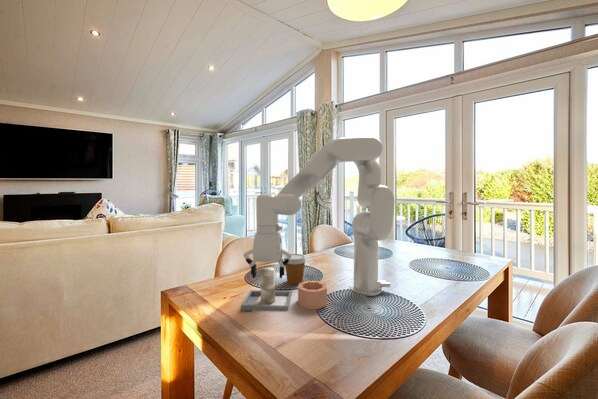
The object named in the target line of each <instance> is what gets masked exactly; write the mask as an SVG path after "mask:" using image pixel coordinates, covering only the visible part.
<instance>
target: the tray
mask: <svg viewBox="0 0 598 399" xmlns="http://www.w3.org/2000/svg"><path fill="white" fill-rule="evenodd" d="M275 296H288V297H287V301H286V304H285V305H281V304H257V302H258V300H259V298H260V297H261V290H256V289H254V290H253V289H252V290H249V292H248V293H247V296H246V297H245V298H244V300H243V301H242V303H241V304H240V305H241V306H240V307H241V308H240V309H241V310H240V311H241V312H244V313H251V312H253V310H268V311H270V310H273V311H274V310H275V311H289V308H290V304H291V301H292V300H291V299H292V296H293V291H292V290H291V291H290V290H288V291H287V290H286V291H285V290H275Z"/></svg>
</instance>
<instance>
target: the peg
mask: <svg viewBox="0 0 598 399" xmlns="http://www.w3.org/2000/svg"><path fill="white" fill-rule="evenodd" d="M275 276H276V270H275V268H274V267H269V266H268V267H262V268H261V269H260V291H261V295H260V303H261V304H262V305H273V304H274V303H275V302H276V295H275V291H276V288H275V287H276V286H275V285H276V283H275V282H276V278H275Z"/></svg>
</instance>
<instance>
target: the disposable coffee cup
mask: <svg viewBox="0 0 598 399" xmlns="http://www.w3.org/2000/svg"><path fill="white" fill-rule="evenodd" d="M291 254H292V256H291V258H290V260H289V262H288V263H287V264H286V265H285V266H284V269H285V274H286V275H285V276H286V282H287V284H289V285H293V286H294V285H299V283H302V282H304V273H305V264H306V261H307V258H306V256H305V255H304V254H301V253H291ZM286 258H287V256H286V255H284V258H283V261H285V260H286Z"/></svg>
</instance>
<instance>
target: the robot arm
mask: <svg viewBox="0 0 598 399" xmlns="http://www.w3.org/2000/svg"><path fill="white" fill-rule="evenodd" d="M382 153H383V143H382V142H381V140H380V139H379V138H377V137H375V136H354V137H348V136H347V137H338V138H335V139H331V140H329V141H328V142H326V143H325V144H324V145H323V146H322V147H321V148H320V149H319V150H318V151H317V153H316V154H315V155H314V156H313V157H312V158H311V160H310V161H309V162H308V163H307V164H306V165H305V166H304V167H303V168H302V169H301V170H300V171H298V172H297V173H296V175H295V176H293V177H292V178H291V179H290V180H289V181H288V182H287V183H286V184H285V185H284V186H283V188H282V189H281V190H280V191H279V192H278V193H277V194H269V193H268V194H259V195H257V196H256V200H255V205H256V208H255V212H256V232H255V233H254V236H253V237H254V238H253V246H252V248H251V249H250V250H248V251H246V252H244V253H243V255H242V256H243V258H244V259H245V262H246V263H247V264H248V265H249V266H250V275H251V276H252V278H254V279H255V278H256V277H257V264H256V263H278V265H279V278H280V279H282V278H283V276H285V265H286V264H287V263H288V262H289V260H290V258H291V256H292V254H293V253H290V252H289V251H287V250H285V249H283V243H282V242H283V241H282V236H281V232H280V231H282V230H283V226H281V225H279V215H281V216H282V215H283V216H294V215H296V214H298V213H299V212H300V210H301V208H302V202H301V199H300V198H301V197H302V196H303V195H304V194H305V193H306V192H308V191H309V190H311V189H313V188H315V187H317V186H319V185H320V184H322V183H323V182H324V180H326V178H327V177H328V176H329V175H330V174H331V173H332V171H333V170H334V169H335V168H336V167H337V165H338V164H339V163H349V162H353V163H354V164H355V166H356V168H357V169H358V184H357V186H358V188H357V203H358V205H359V206H360V207H361V208H364V209H367V210H369V211H361V212H358V213H357V214H356V215H355V216H354V217H353V219H352V223H351V228H352V234H353V283H351V284H350V285H349V289H350V290H351V291H353V292H354V293H358V294H363V295H365V296H366V297H374V296H379V295H380V294H382V292H383V289H382V288H391V282H388V281H387V282H386V280H379V250H380V249H379V241H385V240H387V239H388V238H389V237H390V235H391V234H392V230H393V224H394V212H395V196H394V193H393V190H391V188H389V187H388V186H386V185H383V184H382V169H381V165H380V163H379V161H378V160H377V159H379V157H381V155H382ZM250 255H252V259H251V257H250ZM283 255H284V256H287V258H286V260H285V261H284V259H283Z"/></svg>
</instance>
